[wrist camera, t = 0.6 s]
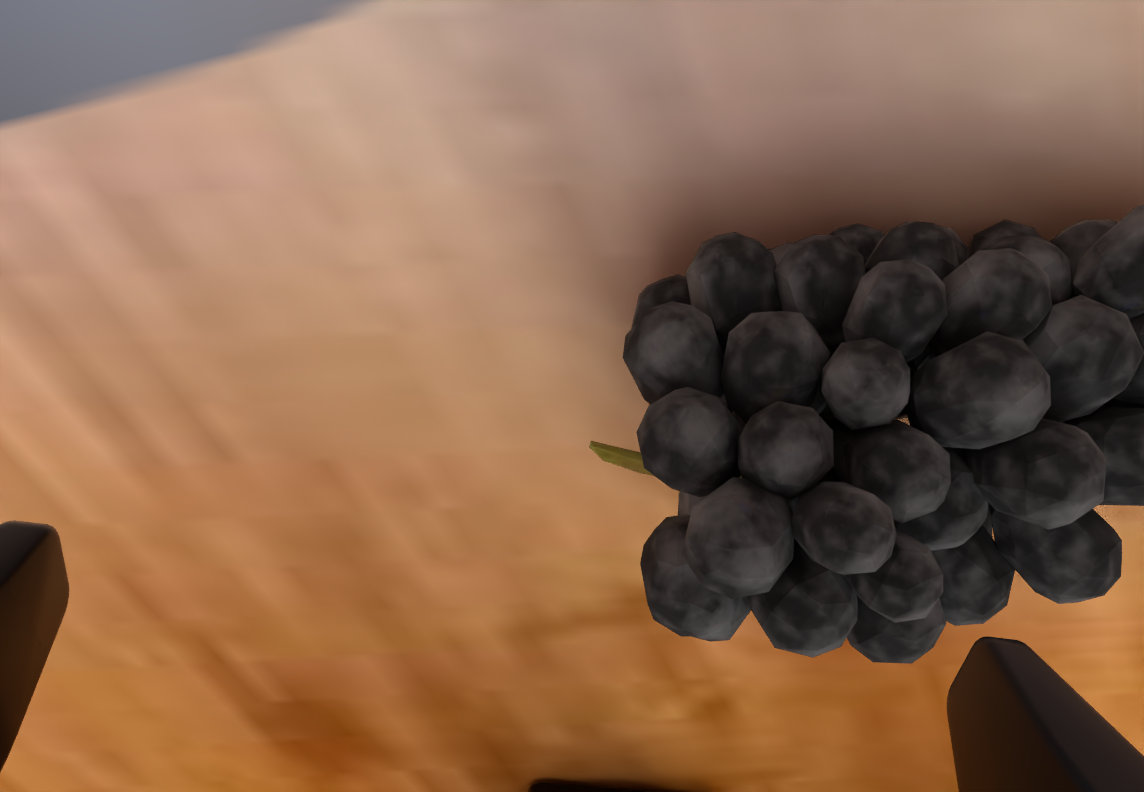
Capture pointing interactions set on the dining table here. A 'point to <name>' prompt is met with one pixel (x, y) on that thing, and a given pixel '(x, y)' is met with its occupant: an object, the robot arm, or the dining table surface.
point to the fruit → (888, 428)
